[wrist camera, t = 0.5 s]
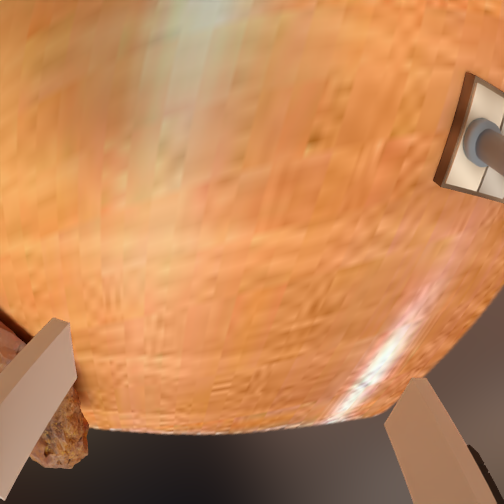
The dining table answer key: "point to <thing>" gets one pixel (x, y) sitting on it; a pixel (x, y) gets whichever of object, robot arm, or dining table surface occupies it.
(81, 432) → the rock
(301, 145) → the dining table surface
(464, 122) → the board
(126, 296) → the dining table surface
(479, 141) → the pawn
